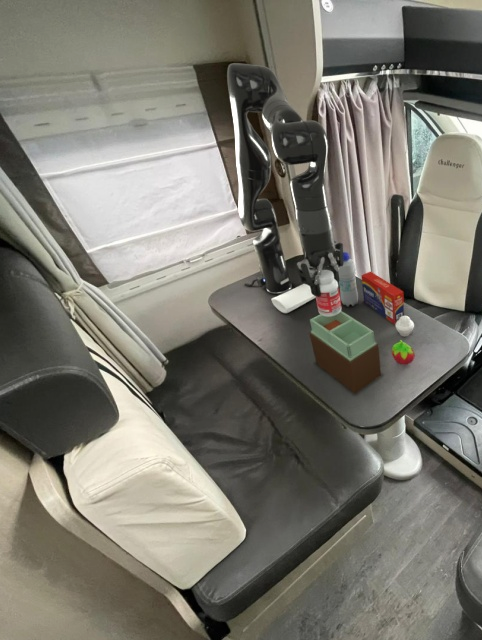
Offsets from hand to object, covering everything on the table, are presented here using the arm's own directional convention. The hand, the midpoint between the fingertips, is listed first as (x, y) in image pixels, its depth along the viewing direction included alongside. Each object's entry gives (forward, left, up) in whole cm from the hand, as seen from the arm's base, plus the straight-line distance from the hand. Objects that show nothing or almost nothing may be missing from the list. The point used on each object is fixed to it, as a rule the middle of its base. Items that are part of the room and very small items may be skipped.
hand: (326, 289), depth 93 cm
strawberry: (+17, +10, -26) cm, 33 cm away
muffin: (+9, +23, -26) cm, 36 cm away
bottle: (-18, +27, -26) cm, 42 cm away
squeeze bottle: (-34, +19, -26) cm, 47 cm away
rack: (+4, -1, -26) cm, 26 cm away
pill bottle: (0, 0, -7) cm, 7 cm away
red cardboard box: (-5, +29, -26) cm, 40 cm away
